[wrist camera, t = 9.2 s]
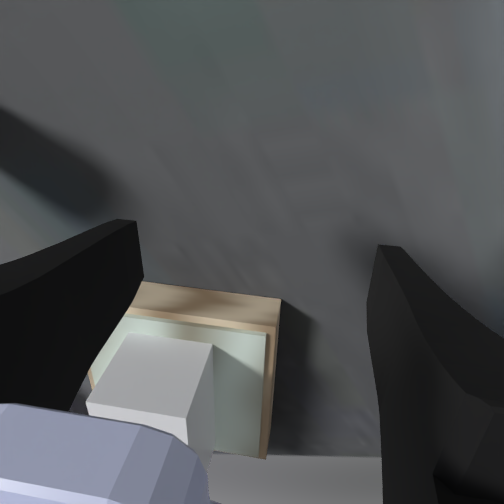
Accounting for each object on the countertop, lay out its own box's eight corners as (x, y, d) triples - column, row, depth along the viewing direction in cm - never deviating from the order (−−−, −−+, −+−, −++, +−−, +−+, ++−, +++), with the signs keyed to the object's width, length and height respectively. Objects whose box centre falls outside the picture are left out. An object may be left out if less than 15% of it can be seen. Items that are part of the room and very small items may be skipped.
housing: (215, 442, 29) (190, 534, 24) (145, 430, 29) (106, 517, 24) (212, 344, 24) (180, 433, 19) (128, 332, 25) (77, 415, 20)
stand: (281, 299, 25) (275, 330, 23) (270, 428, 31) (265, 463, 29) (90, 274, 26) (66, 302, 24) (117, 402, 33) (100, 434, 30)
